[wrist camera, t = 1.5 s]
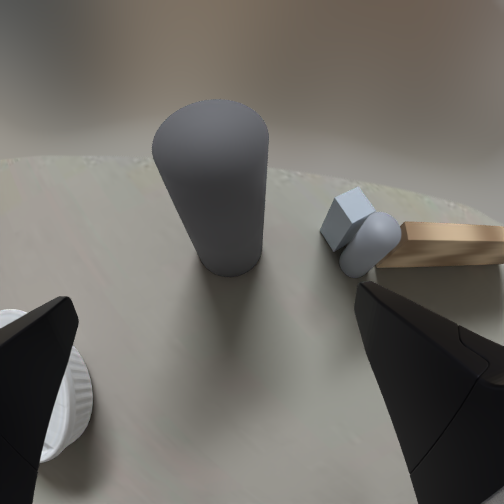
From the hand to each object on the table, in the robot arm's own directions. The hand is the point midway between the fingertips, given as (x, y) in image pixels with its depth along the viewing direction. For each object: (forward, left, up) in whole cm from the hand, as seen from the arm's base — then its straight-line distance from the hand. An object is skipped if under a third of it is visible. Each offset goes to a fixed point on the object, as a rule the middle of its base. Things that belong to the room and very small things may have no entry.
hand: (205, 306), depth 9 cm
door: (-8, -17, -12) cm, 22 cm away
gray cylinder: (+5, -5, -13) cm, 15 cm away
